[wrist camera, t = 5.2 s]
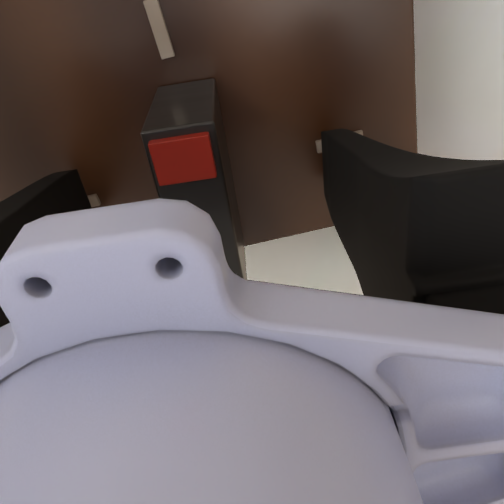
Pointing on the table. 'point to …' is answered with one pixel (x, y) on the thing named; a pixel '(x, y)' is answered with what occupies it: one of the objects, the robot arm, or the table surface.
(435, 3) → the table surface
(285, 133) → the console
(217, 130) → the dark grey red block
